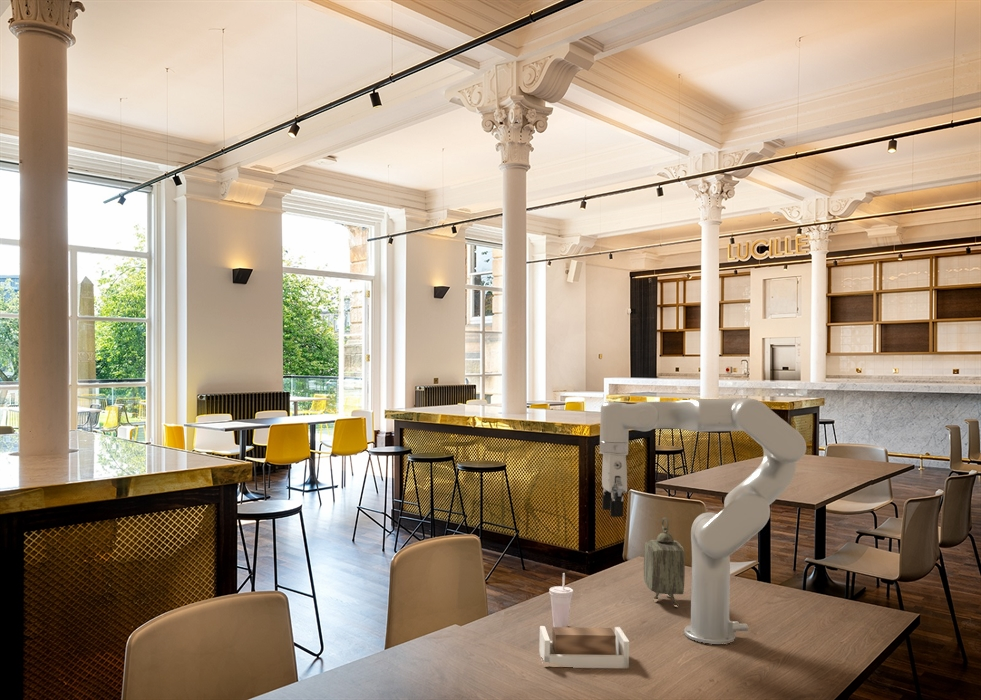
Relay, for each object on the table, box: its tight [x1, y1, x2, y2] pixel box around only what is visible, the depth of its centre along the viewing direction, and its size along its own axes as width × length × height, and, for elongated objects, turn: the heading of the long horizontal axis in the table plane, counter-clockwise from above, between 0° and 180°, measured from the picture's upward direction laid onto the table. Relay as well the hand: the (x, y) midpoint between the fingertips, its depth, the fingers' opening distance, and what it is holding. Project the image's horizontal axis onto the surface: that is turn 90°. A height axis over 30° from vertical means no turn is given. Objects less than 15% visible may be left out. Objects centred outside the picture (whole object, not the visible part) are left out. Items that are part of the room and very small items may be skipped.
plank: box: [551, 626, 616, 655], centre depth 165 cm, size 14×5×4 cm, turn 93°
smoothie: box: [548, 572, 574, 628], centre depth 187 cm, size 6×6×14 cm
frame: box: [538, 625, 630, 669], centre depth 165 cm, size 19×9×6 cm, turn 93°
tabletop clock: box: [643, 516, 686, 606], centre depth 211 cm, size 14×9×25 cm, turn 179°
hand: (612, 513), depth 187 cm, fingers open, 9 cm apart
